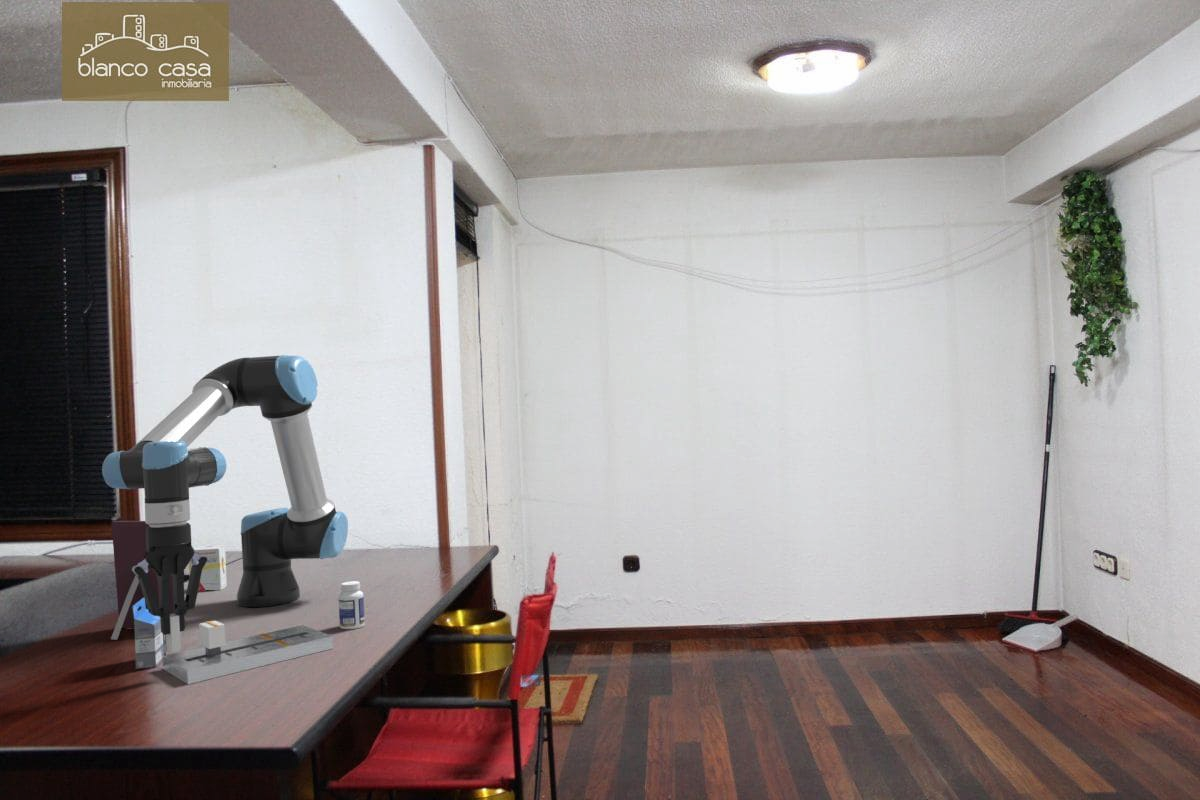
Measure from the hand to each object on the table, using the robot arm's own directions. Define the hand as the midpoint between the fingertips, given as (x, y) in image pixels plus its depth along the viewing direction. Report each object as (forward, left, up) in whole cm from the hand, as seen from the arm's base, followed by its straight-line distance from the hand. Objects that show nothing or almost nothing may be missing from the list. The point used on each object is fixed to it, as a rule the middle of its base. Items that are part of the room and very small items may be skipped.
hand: (174, 650), depth 161 cm
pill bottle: (-6, +39, -5) cm, 40 cm away
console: (0, +14, -5) cm, 15 cm away
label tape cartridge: (-14, 0, -5) cm, 15 cm away
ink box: (-78, +33, -5) cm, 85 cm away
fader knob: (0, +7, -5) cm, 9 cm away
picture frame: (-41, +4, -5) cm, 42 cm away
